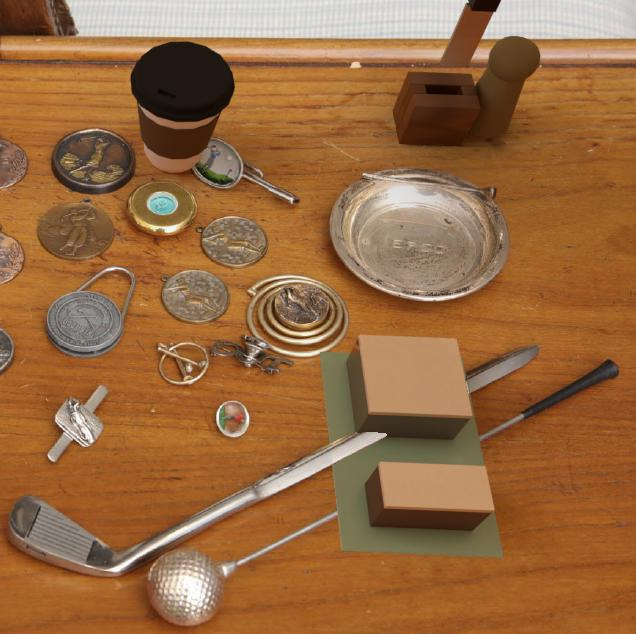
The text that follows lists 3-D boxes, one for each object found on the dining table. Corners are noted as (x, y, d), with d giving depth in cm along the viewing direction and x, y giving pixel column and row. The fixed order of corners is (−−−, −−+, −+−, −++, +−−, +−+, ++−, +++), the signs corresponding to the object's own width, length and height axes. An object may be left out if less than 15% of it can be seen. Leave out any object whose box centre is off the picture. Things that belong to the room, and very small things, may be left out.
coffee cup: (192, 204, 101) (206, 126, 90) (107, 164, 104) (111, 84, 93) (237, 142, 106) (254, 61, 95) (154, 105, 109) (163, 23, 98)
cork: (511, 141, 106) (552, 68, 97) (457, 134, 107) (494, 61, 97) (506, 104, 109) (546, 30, 100) (454, 98, 110) (489, 24, 100)
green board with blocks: (460, 361, 90) (482, 330, 85) (501, 561, 80) (529, 538, 75) (317, 355, 90) (331, 324, 86) (339, 554, 80) (356, 531, 75)
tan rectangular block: (464, 488, 82) (485, 465, 78) (473, 531, 80) (495, 510, 76) (364, 483, 82) (379, 461, 78) (369, 526, 80) (386, 506, 76)
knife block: (453, 111, 109) (471, 73, 104) (461, 146, 106) (481, 108, 101) (392, 109, 109) (407, 71, 104) (399, 144, 106) (415, 106, 101)
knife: (465, 59, 100) (527, -73, 86) (468, 73, 98) (532, -58, 85) (437, 58, 100) (495, -74, 86) (440, 72, 98) (500, -60, 85)
